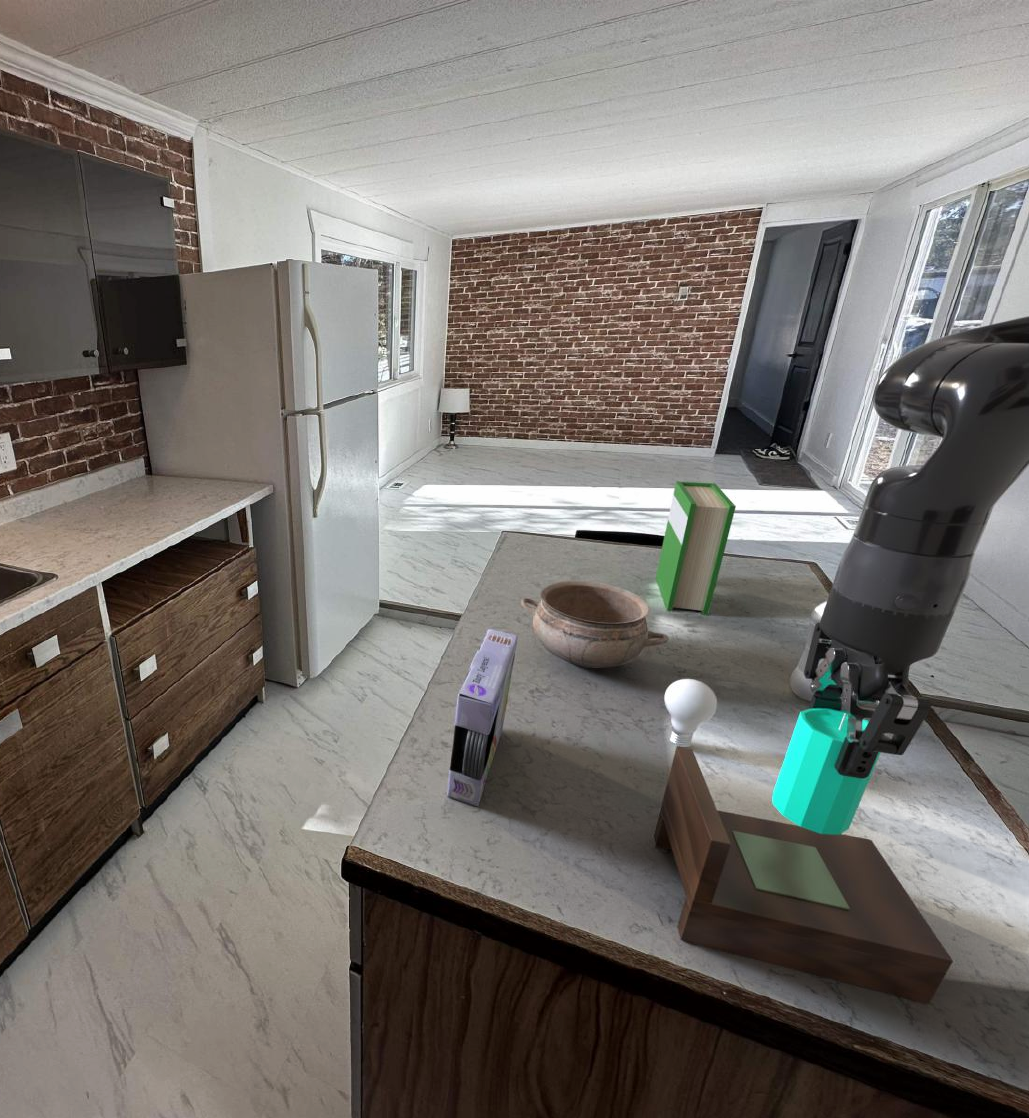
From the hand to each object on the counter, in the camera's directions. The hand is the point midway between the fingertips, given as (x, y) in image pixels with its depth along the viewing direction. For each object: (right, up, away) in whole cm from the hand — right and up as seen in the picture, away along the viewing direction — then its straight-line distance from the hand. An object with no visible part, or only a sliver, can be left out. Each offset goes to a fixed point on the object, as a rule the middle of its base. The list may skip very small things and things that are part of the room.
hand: (832, 750), depth 56 cm
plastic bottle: (+35, -5, +42) cm, 55 cm away
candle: (0, -7, +3) cm, 8 cm away
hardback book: (+37, +10, +77) cm, 86 cm away
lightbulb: (+7, -10, +33) cm, 35 cm away
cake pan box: (-24, -12, +31) cm, 41 cm away
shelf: (+1, -20, +8) cm, 21 cm away
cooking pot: (+4, -1, +55) cm, 55 cm away
